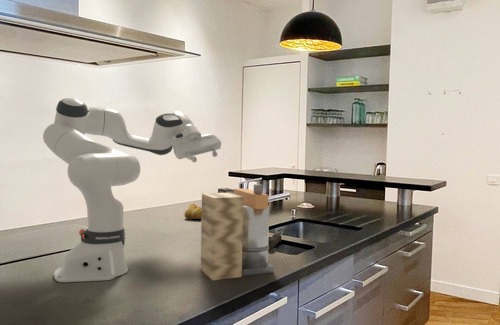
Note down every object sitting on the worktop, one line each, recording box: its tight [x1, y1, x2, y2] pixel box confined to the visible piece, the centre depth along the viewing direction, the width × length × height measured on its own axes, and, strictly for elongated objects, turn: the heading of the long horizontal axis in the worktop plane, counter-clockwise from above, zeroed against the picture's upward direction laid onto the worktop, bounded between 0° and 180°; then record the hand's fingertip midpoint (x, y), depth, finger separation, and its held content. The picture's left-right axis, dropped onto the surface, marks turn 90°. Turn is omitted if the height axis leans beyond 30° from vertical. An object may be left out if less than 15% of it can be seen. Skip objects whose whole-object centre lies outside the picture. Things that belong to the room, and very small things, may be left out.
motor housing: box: [242, 204, 274, 276], centre depth 149 cm, size 11×11×22 cm
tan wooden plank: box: [233, 183, 269, 209], centre depth 151 cm, size 4×19×8 cm, turn 24°
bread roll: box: [184, 203, 202, 220], centre depth 241 cm, size 13×10×8 cm
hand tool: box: [268, 233, 282, 253], centre depth 182 cm, size 19×4×5 cm, turn 162°
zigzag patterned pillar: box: [200, 192, 243, 281], centre depth 144 cm, size 10×12×26 cm
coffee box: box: [217, 187, 234, 194], centre depth 250 cm, size 9×6×16 cm
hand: (205, 158), depth 179 cm, fingers open, 8 cm apart
